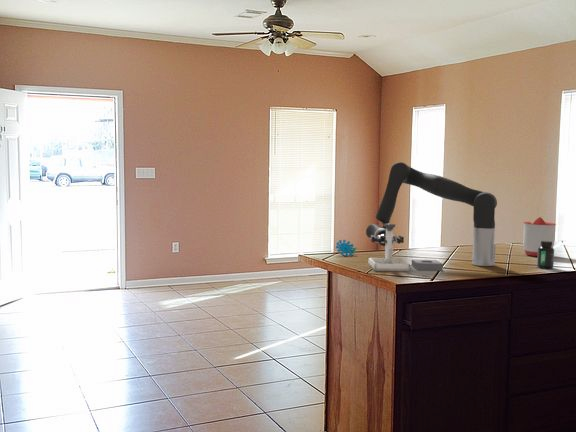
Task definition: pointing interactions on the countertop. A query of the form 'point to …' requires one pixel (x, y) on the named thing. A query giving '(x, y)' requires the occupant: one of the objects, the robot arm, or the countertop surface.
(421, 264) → the block
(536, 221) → the citrus juicer
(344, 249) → the gear
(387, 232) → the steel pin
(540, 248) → the supplement bottle
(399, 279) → the countertop surface
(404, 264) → the tray
